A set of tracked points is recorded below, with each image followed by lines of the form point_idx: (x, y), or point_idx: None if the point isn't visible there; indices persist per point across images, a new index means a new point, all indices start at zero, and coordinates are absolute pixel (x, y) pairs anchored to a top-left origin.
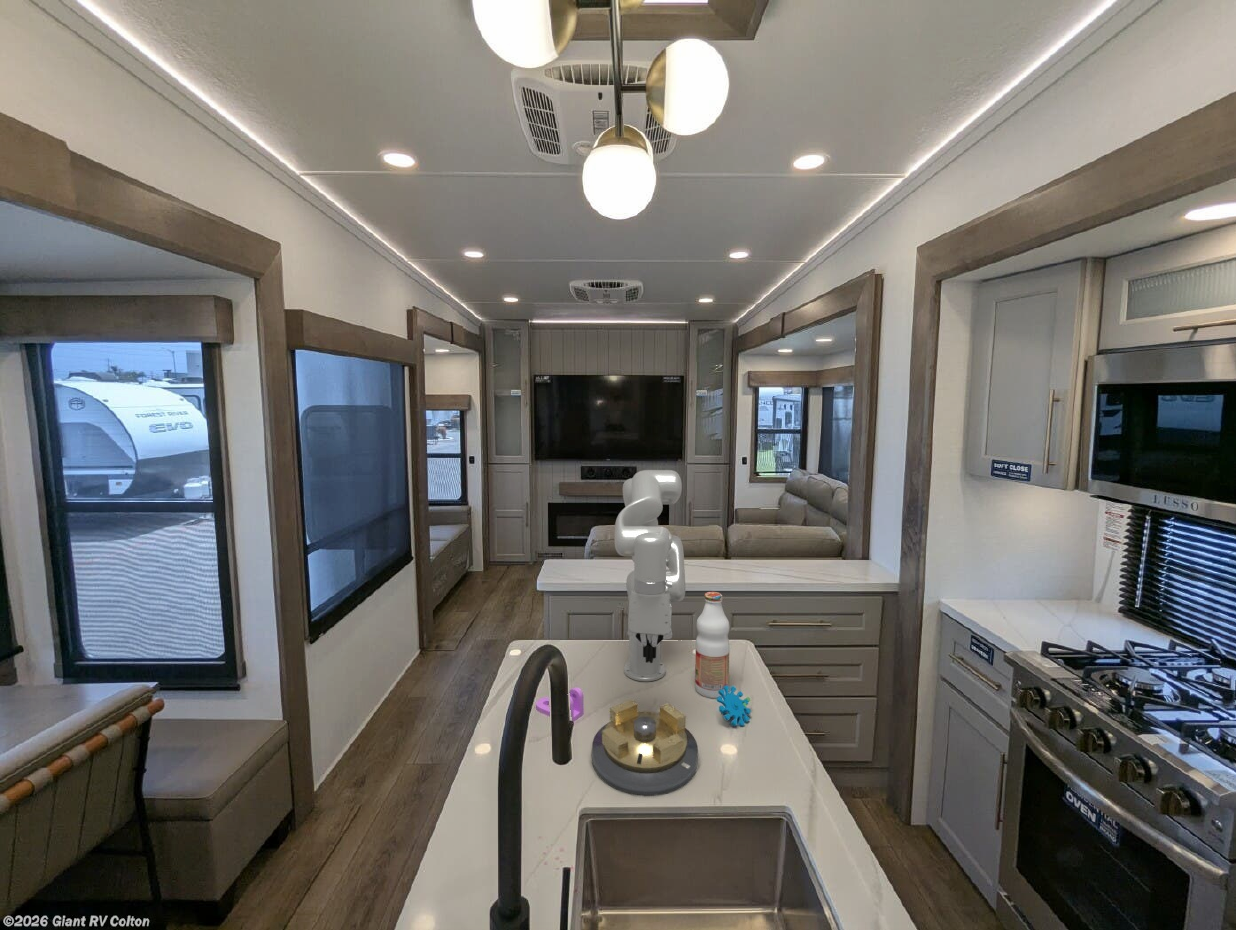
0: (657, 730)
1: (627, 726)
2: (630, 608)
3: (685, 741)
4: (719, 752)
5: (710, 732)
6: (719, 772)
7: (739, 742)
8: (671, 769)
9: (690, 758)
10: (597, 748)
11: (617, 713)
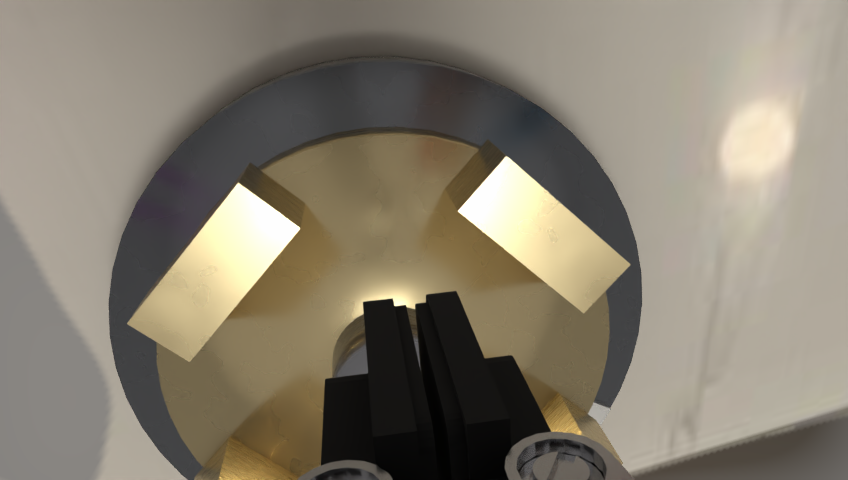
0: None
1: (276, 316)
2: None
3: (602, 343)
4: (713, 178)
5: (682, 28)
6: (701, 302)
7: (815, 75)
8: None
9: (608, 358)
10: (169, 423)
11: (199, 349)
